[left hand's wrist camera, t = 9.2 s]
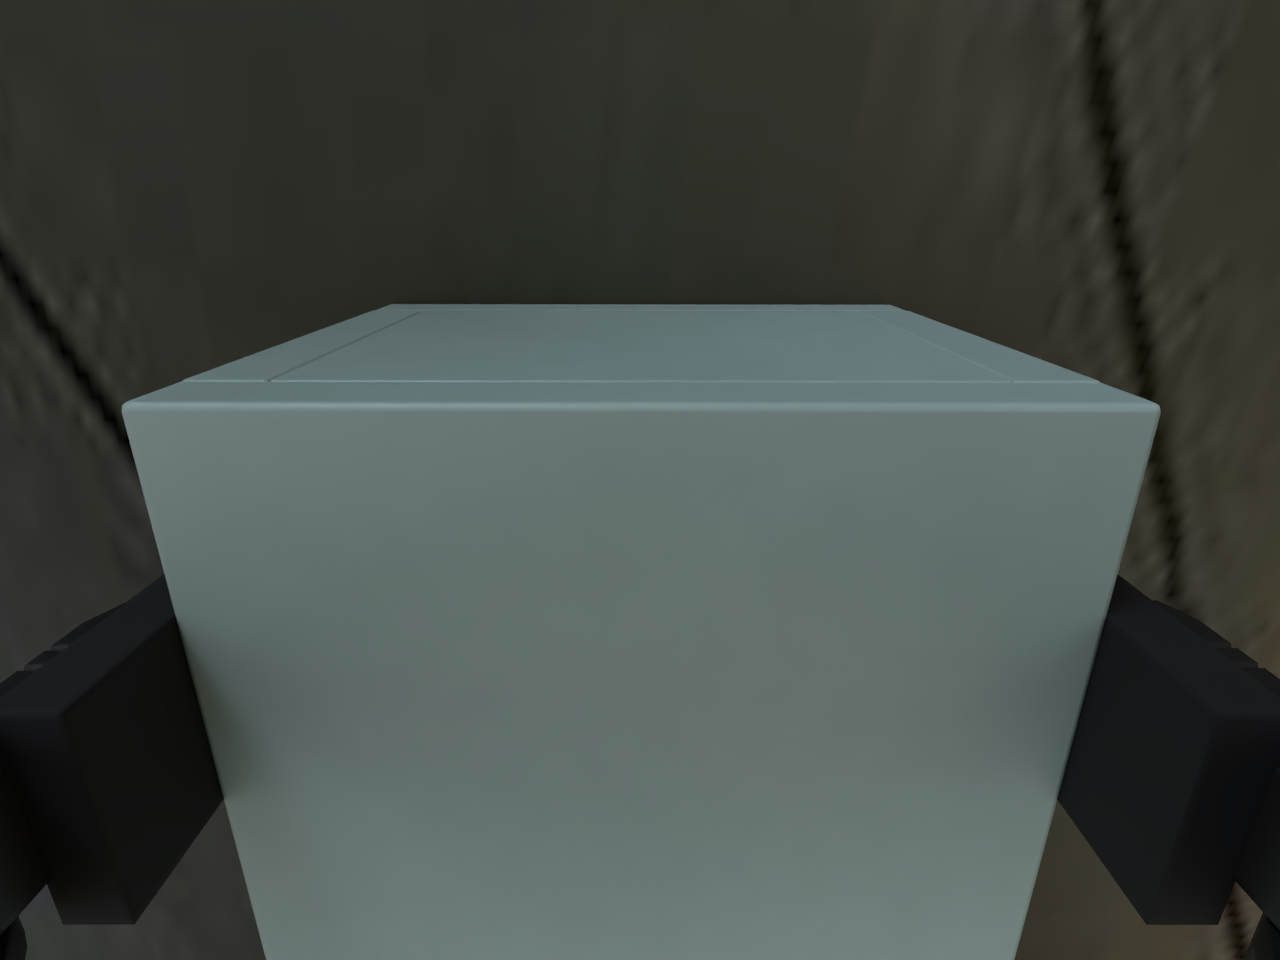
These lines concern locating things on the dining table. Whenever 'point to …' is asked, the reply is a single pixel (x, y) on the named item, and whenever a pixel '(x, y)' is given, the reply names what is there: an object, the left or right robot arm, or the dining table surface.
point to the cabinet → (640, 625)
